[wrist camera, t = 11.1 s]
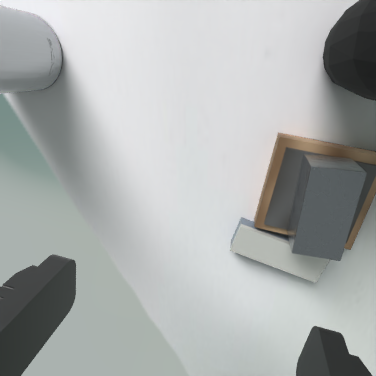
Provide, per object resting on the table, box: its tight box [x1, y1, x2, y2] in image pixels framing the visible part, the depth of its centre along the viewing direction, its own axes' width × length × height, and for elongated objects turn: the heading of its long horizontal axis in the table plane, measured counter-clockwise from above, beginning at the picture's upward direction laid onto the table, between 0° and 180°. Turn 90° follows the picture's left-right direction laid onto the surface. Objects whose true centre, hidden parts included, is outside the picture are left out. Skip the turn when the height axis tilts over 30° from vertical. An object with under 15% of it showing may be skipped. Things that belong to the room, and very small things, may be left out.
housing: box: [287, 153, 367, 261], centre depth 33 cm, size 10×5×5 cm, turn 175°
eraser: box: [230, 217, 330, 283], centre depth 41 cm, size 12×4×3 cm, turn 71°
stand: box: [254, 133, 376, 250], centre depth 36 cm, size 12×12×3 cm
